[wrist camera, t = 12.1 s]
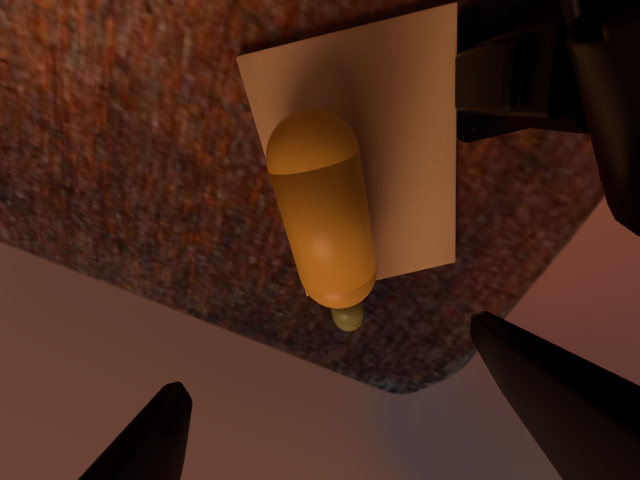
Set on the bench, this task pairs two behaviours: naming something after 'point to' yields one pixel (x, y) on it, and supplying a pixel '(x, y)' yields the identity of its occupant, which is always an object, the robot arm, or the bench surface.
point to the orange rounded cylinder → (324, 209)
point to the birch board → (380, 121)
